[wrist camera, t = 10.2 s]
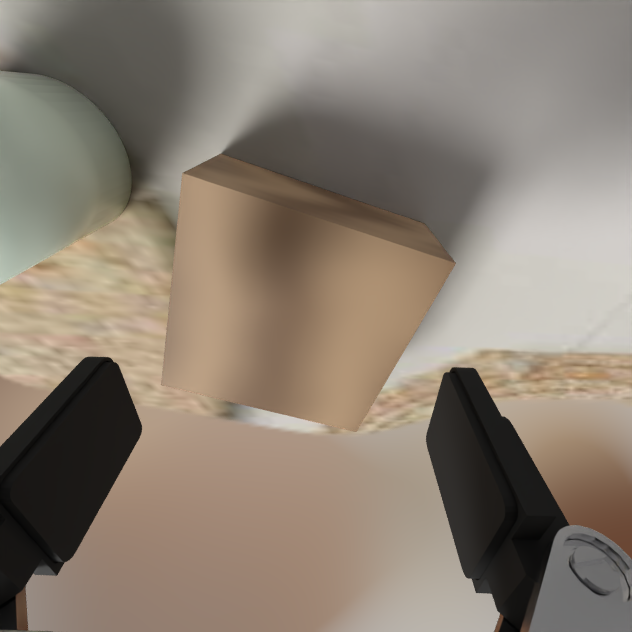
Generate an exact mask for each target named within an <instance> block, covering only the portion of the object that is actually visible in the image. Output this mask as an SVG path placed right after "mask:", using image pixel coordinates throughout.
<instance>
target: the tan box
mask: <svg viewBox="0 0 632 632" xmlns="http://www.w3.org/2000/svg"><path fill="white" fill-rule="evenodd" d="M455 264H456V263H455V261H454V260H453V259H452V258H451V256H450V255H449V254H448V253H447V251H446V250H445V249H444V247H443V246H442V245H441V244H440V242H439V241H438V240H437V239H436V237H435V236H434V235H433V233H432V232H431V231H430V230H429V228H428V227H427V226H426V225H425V224H424V223H421V222H418V221H415V220H412V219H409V218H407V217H404V216H401V215H398V214H395V213H392V212H389V211H386V210H383V209H380V208H377V207H375V206H372V205H369V204H366V203H363V202H360V201H357V200H354V199H351V198H348V197H345V196H342V195H340V194H337V193H334V192H331V191H328V190H325V189H322V188H319V187H316V186H313V185H310V184H308V183H305V182H302V181H299V180H296V179H293V178H290V177H287V176H284V175H281V174H278V173H276V172H273V171H270V170H267V169H264V168H261V167H258V166H255V165H252V164H249V163H246V162H244V161H241V160H238V159H235V158H232V157H229V156H226V155H223V154H219V155H217V156H215V157H213V158H211V159H209V160H207V161H205V162H203V163H201V164H200V165H198V166H196V167H194V168H192V169H190V170H188V171H186V172H184V173H182V183H181V193H180V203H179V213H178V223H177V233H176V243H175V253H174V263H173V273H172V283H171V293H170V302H169V312H168V322H167V332H166V342H165V352H164V362H163V372H162V382H161V385H163V386H167V387H171V388H175V389H179V390H183V391H188V392H192V393H196V394H200V395H204V396H208V397H213V398H217V399H221V400H225V401H229V402H233V403H238V404H242V405H246V406H250V407H254V408H258V409H263V410H267V411H271V412H275V413H279V414H284V415H288V416H292V417H296V418H300V419H304V420H309V421H313V422H317V423H321V424H325V425H329V426H334V427H338V428H342V429H346V430H350V431H354V432H356V431H357V430H358V428H359V426H360V425H361V423H362V421H363V420H364V418H365V416H366V415H367V413H368V411H369V409H370V408H371V406H372V404H373V403H374V401H375V399H376V398H377V396H378V394H379V393H380V391H381V389H382V387H383V386H384V384H385V382H386V381H387V379H388V377H389V376H390V374H391V372H392V371H393V369H394V367H395V365H396V364H397V362H398V360H399V359H400V357H401V355H402V354H403V352H404V350H405V349H406V347H407V345H408V343H409V342H410V340H411V338H412V337H413V335H414V333H415V332H416V330H417V328H418V327H419V325H420V323H421V321H422V320H423V318H424V316H425V315H426V313H427V311H428V310H429V308H430V306H431V305H432V303H433V301H434V299H435V298H436V296H437V294H438V293H439V291H440V289H441V288H442V286H443V284H444V283H445V281H446V279H447V278H448V276H449V274H450V272H451V271H452V269H453V267H454V266H455Z"/></svg>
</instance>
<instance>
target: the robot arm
mask: <svg viewBox="0 0 632 632" xmlns="http://www.w3.org/2000/svg"><path fill="white" fill-rule="evenodd" d="M141 432H142V425H141V422H140V419H139V417H138V414H137V411H136V409H135V406H134V404H133V401H132V399H131V396H130V394H129V391H128V388H127V386H126V383H125V381H124V378H123V376H122V373H121V370H120V368H119V366H118V364H117V363H114V362H113V360H112V359H111V358H109V357H86V358H84V359H83V360H82V361H81V362H80V363H79V364H78V365H77V366H76V367H75V368H74V369H73V370H72V371H71V373H70V374H69V375H68V376H67V377H66V378H65V379H64V380H63V381H62V382H61V383H60V384H59V385H58V386H57V387H56V388H55V389H54V390H53V392H52V393H51V394H50V395H49V396H48V397H47V398H46V399H45V400H44V401H43V402H42V403H41V404H40V405H39V406H38V407H37V409H36V410H35V411H34V412H33V413H32V414H31V415H30V416H29V417H28V418H27V419H26V420H25V421H24V422H23V423H22V424H21V425H20V426H19V427H18V429H17V430H16V431H15V432H14V433H13V434H12V435H11V436H10V437H9V438H8V439H7V440H6V441H5V442H4V443H3V444H2V445H1V447H0V632H51V631H28V616H27V601H26V584H27V582H28V580H29V579H30V577H31V576H32V574H33V573H34V574H35V575H55V576H57V575H58V573H59V571H60V569H61V567H62V566H63V564H64V562H67V561H68V560H70V559H71V558H72V557H73V555H74V554H75V552H76V550H77V549H78V547H79V545H80V543H81V542H82V540H83V538H84V536H85V534H86V533H87V531H88V529H89V527H90V525H91V524H92V522H93V520H94V518H95V516H96V515H97V513H98V511H99V509H100V508H101V506H102V504H103V502H104V500H105V499H106V497H107V495H108V493H109V491H110V489H111V488H112V486H113V484H114V482H115V481H116V479H117V477H118V475H119V473H120V471H121V470H122V468H123V466H124V465H125V463H126V461H127V459H128V457H129V456H130V454H131V452H132V450H133V448H134V446H135V445H136V443H137V441H138V440H139V438H140V435H141ZM426 442H427V448H428V451H429V455H430V458H431V462H432V465H433V469H434V472H435V476H436V479H437V483H438V486H439V490H440V493H441V497H442V500H443V504H444V507H445V511H446V514H447V518H448V521H449V525H450V528H451V532H452V535H453V539H454V542H455V545H456V549H457V553H458V556H459V559H460V563H461V566H462V569H463V572H464V574H465V576H466V577H467V578H471V579H472V581H473V584H474V588H475V591H476V593H490V594H492V595H493V598H494V601H495V605H496V608H497V611H498V612H500V615H499V618H498V621H497V624H496V627H495V630H494V632H632V560H631V558H630V557H629V556H628V555H627V554H626V553H625V552H624V551H623V550H622V549H621V548H620V547H619V546H618V545H617V544H615V543H614V542H613V541H611V540H610V539H608V538H607V537H605V536H604V535H602V534H600V533H598V532H596V531H594V530H592V529H590V528H586V527H582V526H578V525H576V526H575V525H574V526H570V525H569V524H568V522H567V520H566V519H565V516H564V515H563V513H562V511H561V509H560V508H559V506H558V504H557V502H556V501H555V499H554V497H553V495H552V494H551V492H550V490H549V488H548V487H547V485H546V483H545V481H544V480H543V478H542V476H541V474H540V473H539V471H538V469H537V467H536V466H535V464H534V462H533V460H532V458H531V457H530V455H529V453H528V451H527V450H526V448H525V446H524V444H523V443H522V441H521V439H520V437H519V436H518V434H517V432H516V430H515V429H514V427H513V425H512V424H511V422H510V421H509V420H508V419H507V418H506V417H502V416H501V414H500V412H499V411H498V409H497V407H496V405H495V403H494V401H493V400H492V398H491V396H490V394H489V392H488V391H487V389H486V387H485V385H484V383H483V381H482V380H481V378H480V376H479V374H478V372H477V371H476V370H475V369H474V368H457V367H454V368H452V369H451V370H450V372H446V373H444V375H443V379H442V382H441V386H440V389H439V393H438V396H437V400H436V403H435V407H434V410H433V414H432V417H431V421H430V424H429V428H428V431H427V436H426Z"/></svg>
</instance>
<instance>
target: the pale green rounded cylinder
mask: <svg viewBox="0 0 632 632" xmlns="http://www.w3.org/2000/svg"><path fill="white" fill-rule="evenodd" d="M131 186H132V177H131V168H130V163H129V159H128V156H127V153H126V150H125V148H124V146H123V143H122V141H121V139H120V137H119V136H118V134H117V132H116V130H115V129H114V127H113V126H112V124H111V123H110V122H109V120H108V119H107V118H106V117H105V115H104V114H103V113H102V112H101V111H100V110H99V109H98V108H97V107H96V106H95V105H94V104H93V103H92V102H91V101H90V100H89V99H88V98H86V97H85V96H84V95H83V94H81V93H80V92H78V91H77V90H75V89H74V88H72V87H71V86H69V85H67V84H65V83H63V82H61V81H59V80H56V79H53V78H51V77H47V76H43V75H39V74H29V73H18V72H7V71H0V284H2V283H4V282H6V281H7V280H9V279H11V278H13V277H15V276H16V275H18V274H20V273H22V272H24V271H25V270H27V269H29V268H31V267H32V266H34V265H36V264H38V263H40V262H41V261H43V260H45V259H47V258H48V257H50V256H52V255H54V254H56V253H57V252H59V251H61V250H63V249H64V248H66V247H68V246H70V245H72V244H73V243H75V242H77V241H79V240H81V239H82V238H84V237H86V236H88V235H89V234H91V233H93V232H95V231H97V230H98V229H100V228H102V227H104V226H105V225H107V224H109V223H111V222H113V221H114V220H115V219H116V218H118V217H119V216H120V214H121V213H122V212H123V211H124V209H125V207H126V206H127V203H128V201H129V198H130V193H131Z"/></svg>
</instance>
